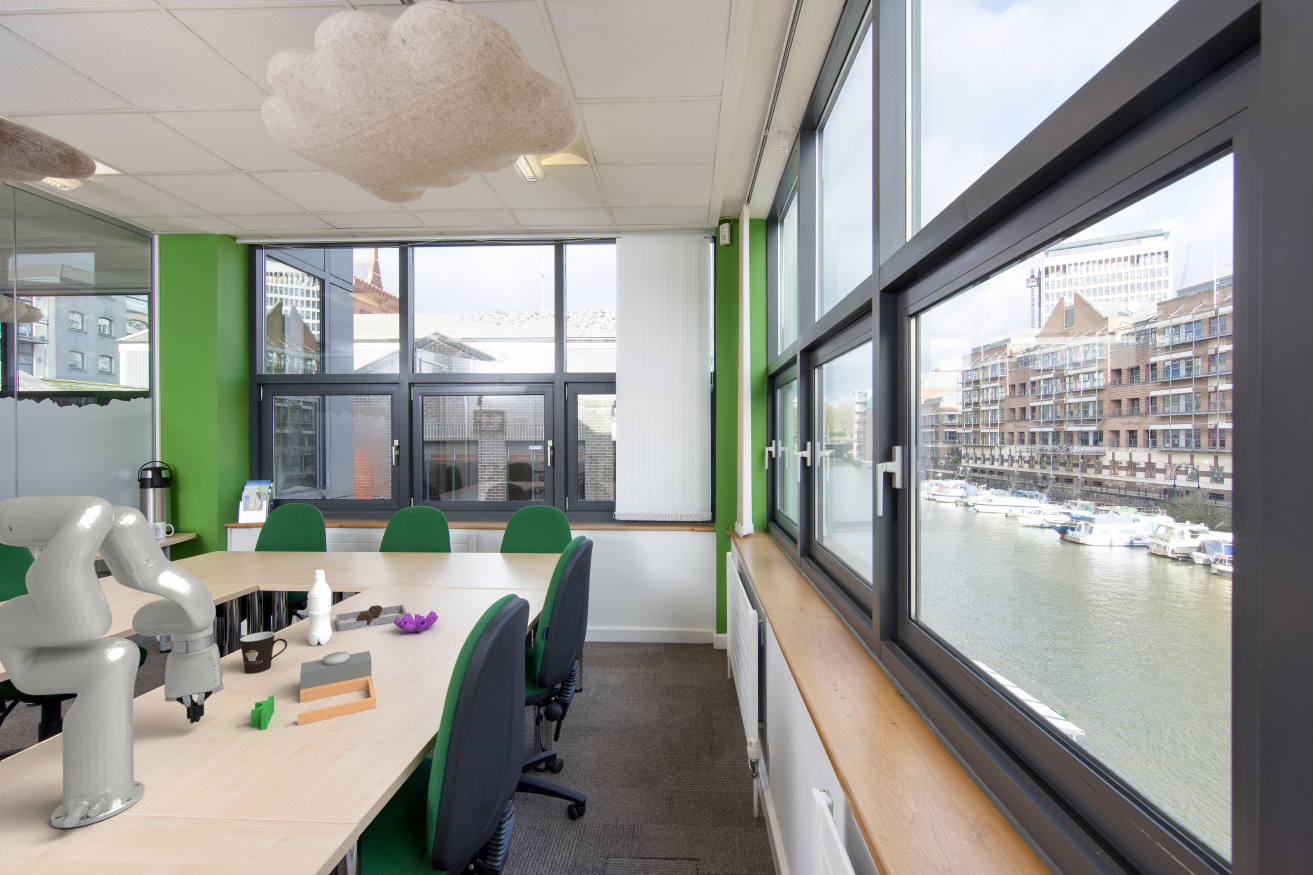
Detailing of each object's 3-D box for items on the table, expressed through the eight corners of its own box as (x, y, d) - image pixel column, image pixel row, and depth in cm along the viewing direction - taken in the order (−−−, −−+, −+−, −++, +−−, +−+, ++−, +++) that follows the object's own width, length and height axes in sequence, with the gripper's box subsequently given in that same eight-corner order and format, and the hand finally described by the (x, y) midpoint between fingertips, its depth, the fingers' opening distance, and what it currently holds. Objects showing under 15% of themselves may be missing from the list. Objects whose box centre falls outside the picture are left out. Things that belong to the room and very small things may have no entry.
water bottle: (337, 640, 195) (336, 568, 196) (319, 647, 188) (318, 573, 189) (320, 638, 197) (319, 567, 198) (302, 646, 190) (301, 572, 191)
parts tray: (407, 620, 217) (407, 613, 217) (337, 631, 205) (336, 624, 205) (402, 610, 229) (402, 604, 229) (336, 620, 217) (336, 614, 217)
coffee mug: (233, 673, 168) (232, 640, 168) (259, 662, 176) (259, 630, 176) (264, 677, 165) (264, 643, 165) (289, 665, 173) (289, 633, 174)
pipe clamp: (257, 714, 142) (257, 697, 143) (274, 711, 144) (274, 694, 144) (248, 733, 133) (248, 714, 133) (266, 729, 134) (266, 711, 135)
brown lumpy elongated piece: (380, 618, 225) (365, 629, 210) (368, 612, 224) (353, 623, 209) (388, 604, 225) (374, 615, 210) (376, 599, 225) (361, 609, 210)
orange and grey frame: (375, 707, 145) (375, 674, 145) (297, 725, 136) (297, 690, 136) (369, 674, 166) (369, 645, 166) (301, 687, 157) (301, 657, 157)
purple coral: (437, 639, 204) (435, 623, 199) (393, 644, 200) (389, 627, 195) (440, 613, 213) (438, 597, 208) (397, 617, 209) (394, 601, 204)
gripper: (147, 655, 125) (149, 736, 126) (230, 642, 133) (232, 718, 133) (156, 644, 132) (158, 721, 132) (235, 632, 139) (237, 705, 140)
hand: (195, 719), depth 133 cm, fingers closed
